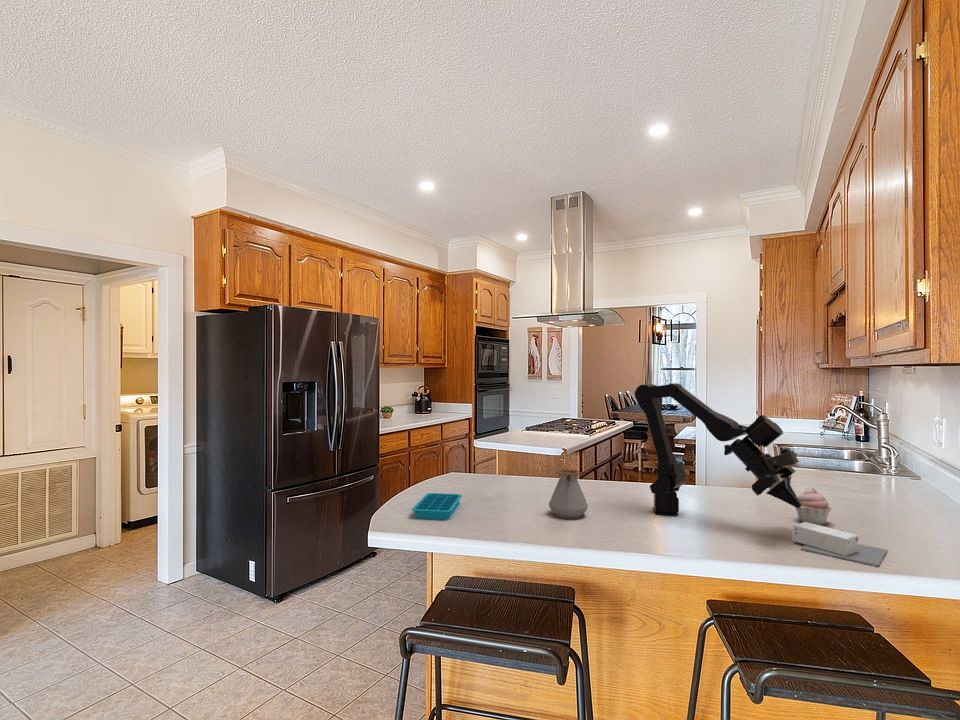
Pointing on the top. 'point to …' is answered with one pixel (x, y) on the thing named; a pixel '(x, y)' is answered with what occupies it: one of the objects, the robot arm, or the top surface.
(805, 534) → the skincare box
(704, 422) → the robot arm
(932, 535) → the top surface
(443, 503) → the ice cube tray
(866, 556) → the mat
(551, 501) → the coffee pot
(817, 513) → the cupcake
